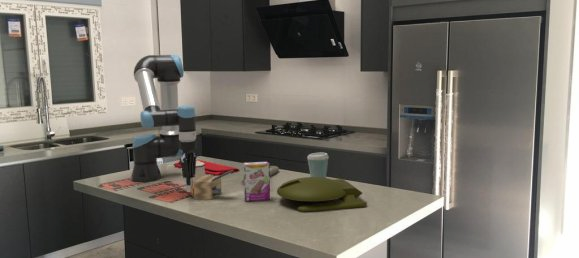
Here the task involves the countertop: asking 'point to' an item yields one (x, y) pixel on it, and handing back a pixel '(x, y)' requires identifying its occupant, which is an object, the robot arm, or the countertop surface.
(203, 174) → the teacup with lid
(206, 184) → the oak block
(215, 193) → the lynch pin
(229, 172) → the plate
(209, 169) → the red long flat piece
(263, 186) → the candy bar box
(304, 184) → the spaceship
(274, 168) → the long grey stone
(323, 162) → the disposable coffee cup
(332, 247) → the countertop surface
